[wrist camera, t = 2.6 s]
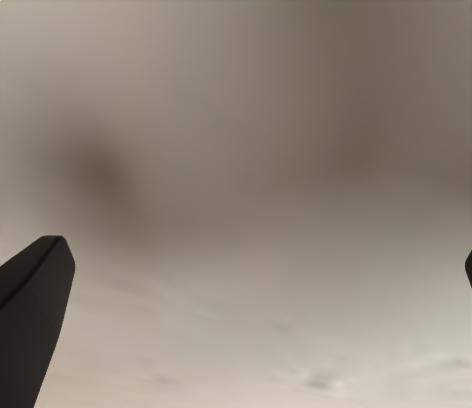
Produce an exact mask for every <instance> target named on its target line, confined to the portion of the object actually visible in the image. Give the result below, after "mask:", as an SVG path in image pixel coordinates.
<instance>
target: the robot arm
mask: <svg viewBox="0 0 472 408" xmlns="http://www.w3.org/2000/svg"><path fill="white" fill-rule="evenodd" d="M465 270H466V273H467V276H468V279H469V282H470V285H471V287H472V250H471V252H470V254H469V256H468V257H467V259H466V262H465ZM74 273H75V261H74V258H73V256H72V253H71V251H70V249H69V246H68V244H67V241H66V239H65V238H64V237H63V236H42V237H40V238H39V239H37V240H36V241H34V242H33V243H32V244H30V245H29V246H28V247H26V248H25V249H23V250H22V251H21V252H19V253H18V254H17V255H15V256H14V257H12V258H11V259H10V260H8V261H7V262H6V263H4V264H3V265H1V266H0V408H34V405H35V402H36V399H37V397H38V394H39V391H40V388H41V386H42V383H43V380H44V377H45V375H46V372H47V369H48V366H49V364H50V361H51V358H52V355H53V353H54V350H55V347H56V344H57V341H58V338H59V335H60V331H61V327H62V323H63V319H64V315H65V311H66V307H67V303H68V298H69V294H70V290H71V286H72V282H73V278H74Z"/></svg>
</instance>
